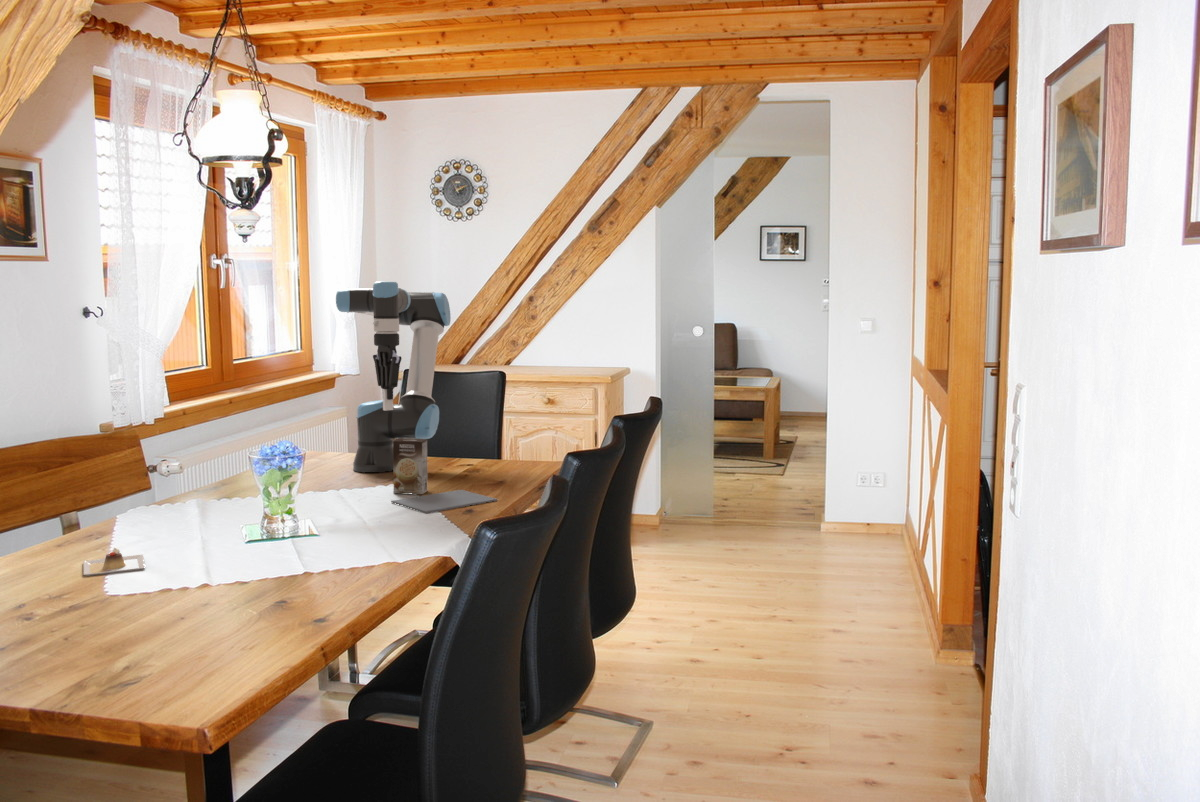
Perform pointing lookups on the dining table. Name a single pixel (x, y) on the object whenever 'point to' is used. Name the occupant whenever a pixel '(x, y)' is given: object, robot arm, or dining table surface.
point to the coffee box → (410, 465)
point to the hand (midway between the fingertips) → (388, 410)
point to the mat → (444, 501)
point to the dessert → (113, 563)
